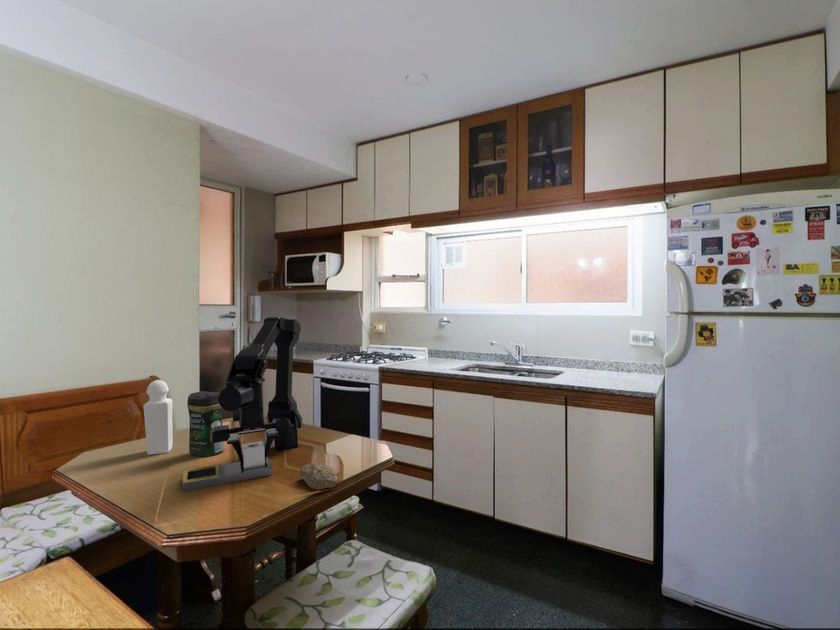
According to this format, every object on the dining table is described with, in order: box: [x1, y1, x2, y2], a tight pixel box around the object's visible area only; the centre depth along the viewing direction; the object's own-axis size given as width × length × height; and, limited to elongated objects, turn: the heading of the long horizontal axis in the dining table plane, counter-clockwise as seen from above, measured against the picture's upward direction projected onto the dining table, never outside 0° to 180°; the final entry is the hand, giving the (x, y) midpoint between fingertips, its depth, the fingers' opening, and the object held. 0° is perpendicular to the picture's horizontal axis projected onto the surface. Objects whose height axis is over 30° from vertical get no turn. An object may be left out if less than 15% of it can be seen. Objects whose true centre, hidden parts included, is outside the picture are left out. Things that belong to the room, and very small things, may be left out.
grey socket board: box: [181, 456, 273, 492], centre depth 110 cm, size 20×9×3 cm, turn 116°
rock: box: [299, 462, 339, 491], centre depth 105 cm, size 8×11×4 cm
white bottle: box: [143, 379, 173, 456], centre depth 134 cm, size 6×6×22 cm
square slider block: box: [241, 440, 265, 471], centre depth 112 cm, size 5×5×7 cm
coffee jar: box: [187, 390, 225, 458], centre depth 131 cm, size 10×8×19 cm
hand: (253, 462), depth 112 cm, fingers closed on square slider block, 5 cm apart
